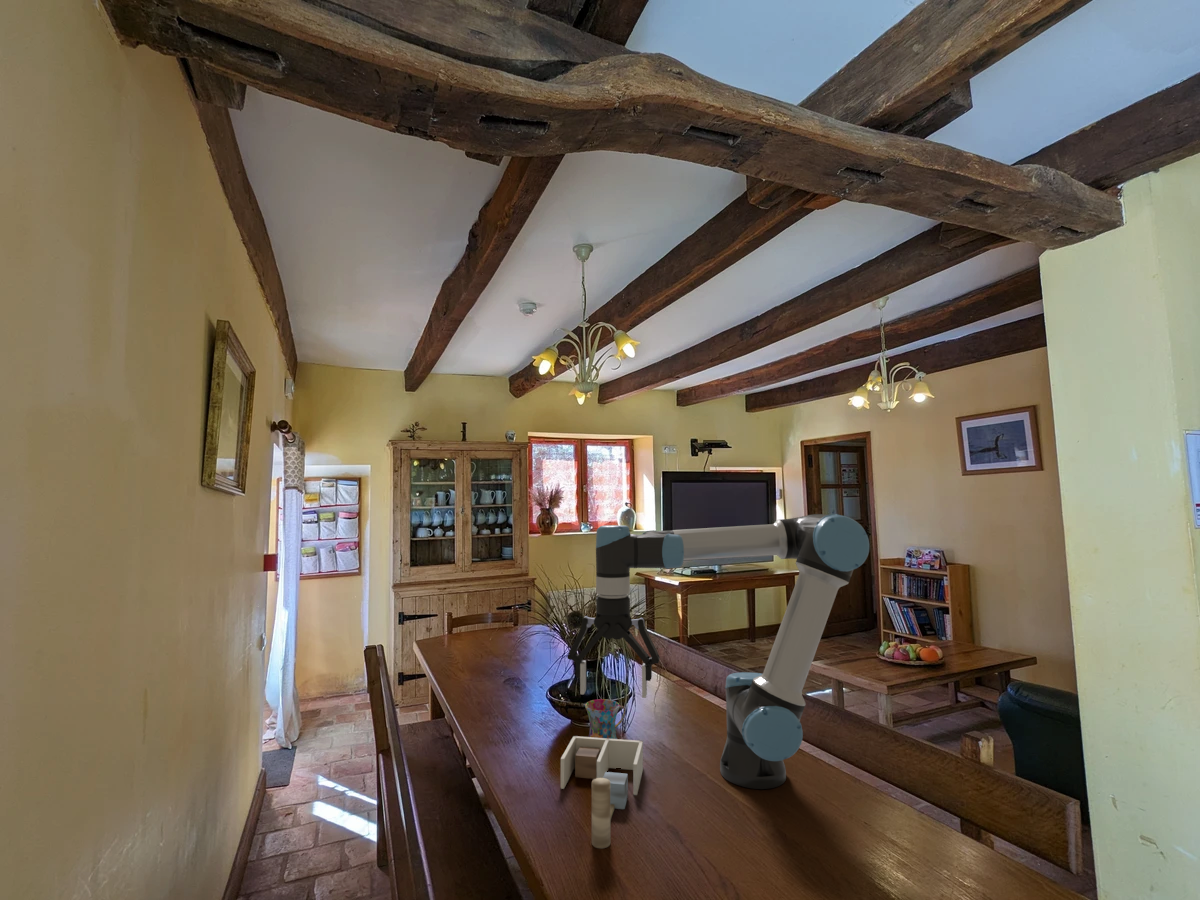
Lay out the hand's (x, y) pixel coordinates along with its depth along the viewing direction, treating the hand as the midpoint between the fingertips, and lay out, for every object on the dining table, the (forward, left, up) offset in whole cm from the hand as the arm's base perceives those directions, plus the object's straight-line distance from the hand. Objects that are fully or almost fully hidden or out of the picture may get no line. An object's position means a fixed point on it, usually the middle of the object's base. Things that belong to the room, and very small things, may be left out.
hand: (613, 694), depth 127 cm
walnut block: (+13, -8, -23) cm, 27 cm away
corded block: (-3, +6, -23) cm, 24 cm away
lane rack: (+8, -8, -23) cm, 25 cm away
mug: (+18, -24, -23) cm, 38 cm away
